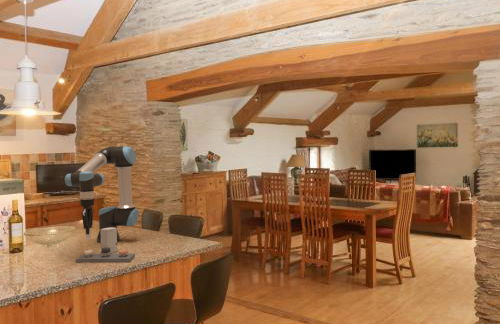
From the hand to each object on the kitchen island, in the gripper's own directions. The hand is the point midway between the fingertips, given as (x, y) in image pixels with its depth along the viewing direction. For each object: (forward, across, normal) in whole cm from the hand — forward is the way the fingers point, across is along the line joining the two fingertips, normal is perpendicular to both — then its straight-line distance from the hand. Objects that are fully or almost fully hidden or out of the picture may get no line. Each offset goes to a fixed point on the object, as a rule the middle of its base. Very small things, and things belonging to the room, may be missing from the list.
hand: (88, 239), depth 263 cm
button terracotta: (+11, 0, +20) cm, 23 cm away
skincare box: (+12, -18, +6) cm, 22 cm away
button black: (+10, 0, +10) cm, 14 cm away
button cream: (+11, 0, 0) cm, 11 cm away
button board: (+12, 0, +10) cm, 15 cm away
